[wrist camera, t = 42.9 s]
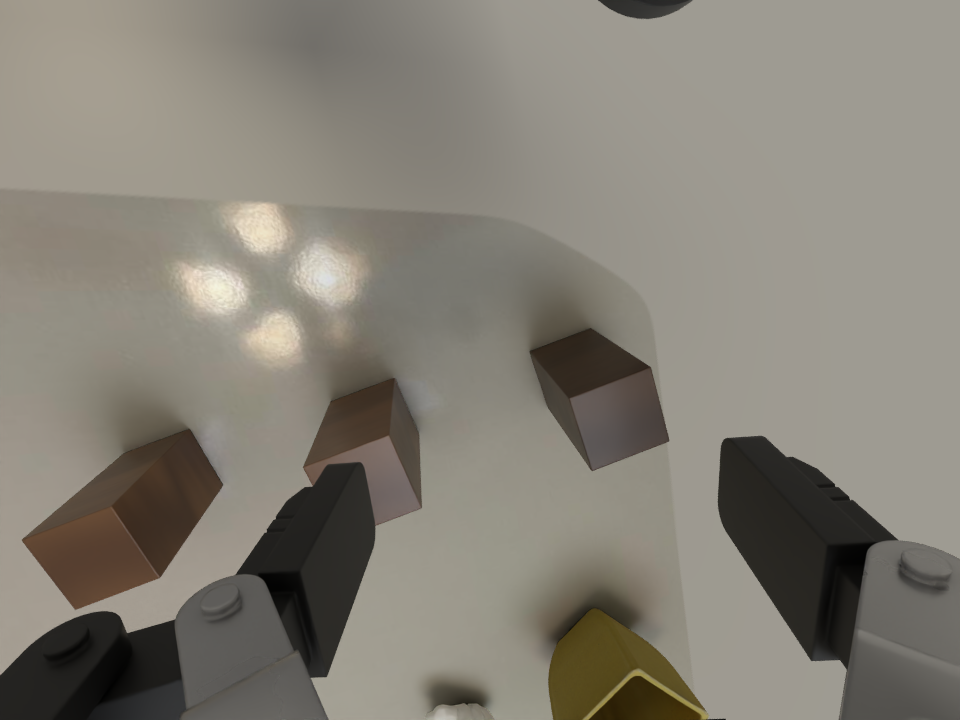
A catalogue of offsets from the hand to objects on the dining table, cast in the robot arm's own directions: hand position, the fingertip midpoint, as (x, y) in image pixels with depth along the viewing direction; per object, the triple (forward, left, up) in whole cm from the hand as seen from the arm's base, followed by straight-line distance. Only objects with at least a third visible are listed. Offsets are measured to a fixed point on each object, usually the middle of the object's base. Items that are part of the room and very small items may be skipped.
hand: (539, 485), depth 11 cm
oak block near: (+7, +7, -26) cm, 28 cm away
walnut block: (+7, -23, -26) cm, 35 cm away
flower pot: (+33, +5, -26) cm, 43 cm away
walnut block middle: (+7, -8, -26) cm, 28 cm away
